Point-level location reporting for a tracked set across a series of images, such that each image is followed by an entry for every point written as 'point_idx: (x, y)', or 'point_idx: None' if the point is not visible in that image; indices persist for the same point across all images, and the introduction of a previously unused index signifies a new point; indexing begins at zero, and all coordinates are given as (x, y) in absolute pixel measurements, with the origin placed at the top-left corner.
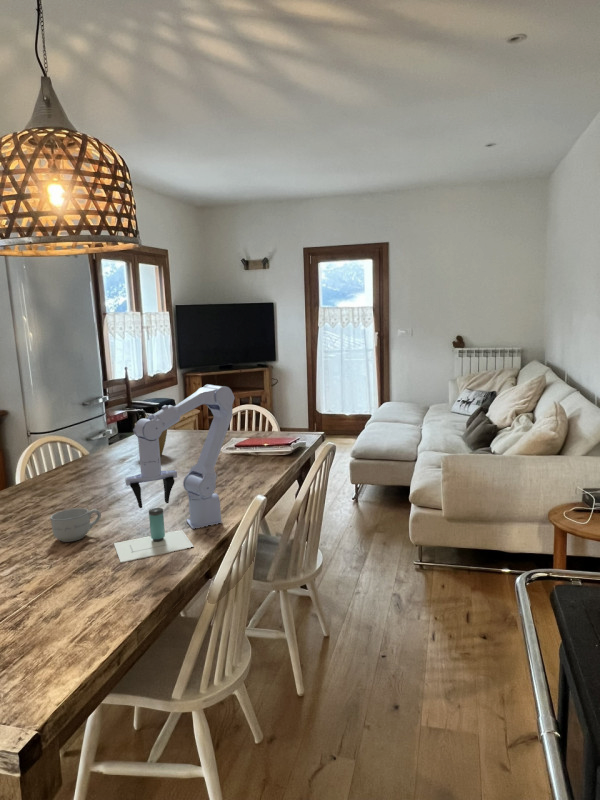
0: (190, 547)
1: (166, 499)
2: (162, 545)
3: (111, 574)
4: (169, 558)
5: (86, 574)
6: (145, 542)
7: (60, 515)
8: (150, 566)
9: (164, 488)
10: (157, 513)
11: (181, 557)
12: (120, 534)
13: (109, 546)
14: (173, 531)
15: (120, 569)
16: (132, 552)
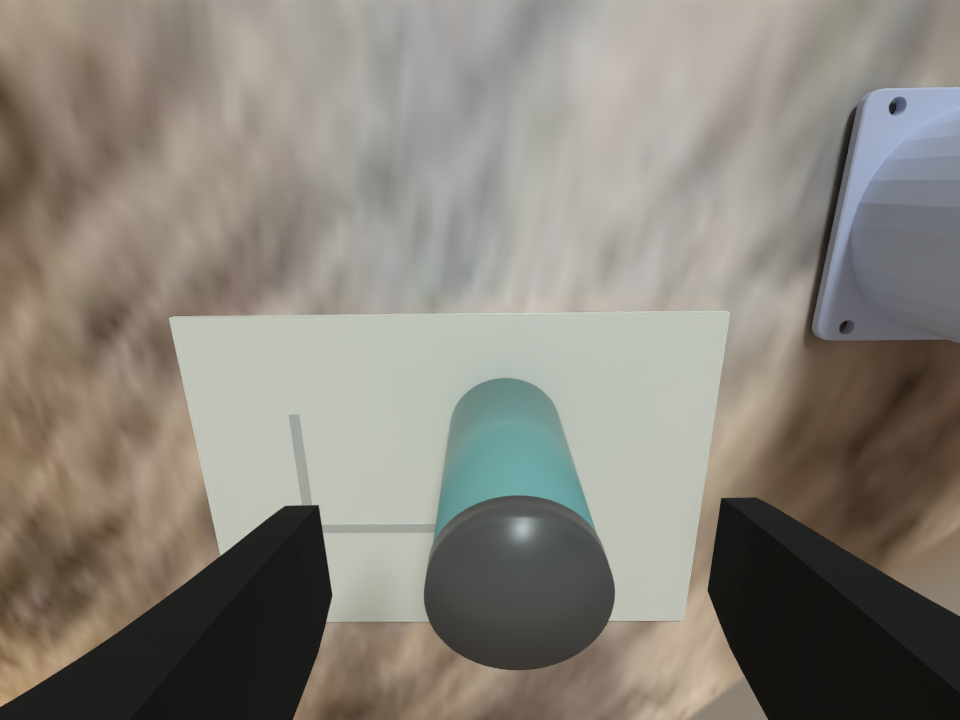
0: (661, 618)
1: (740, 664)
2: None
3: None
4: (509, 674)
5: (61, 656)
6: (407, 421)
7: None
8: (396, 710)
9: (918, 708)
10: (518, 660)
11: (572, 690)
12: (216, 113)
13: (144, 341)
14: (655, 315)
15: None
16: None
